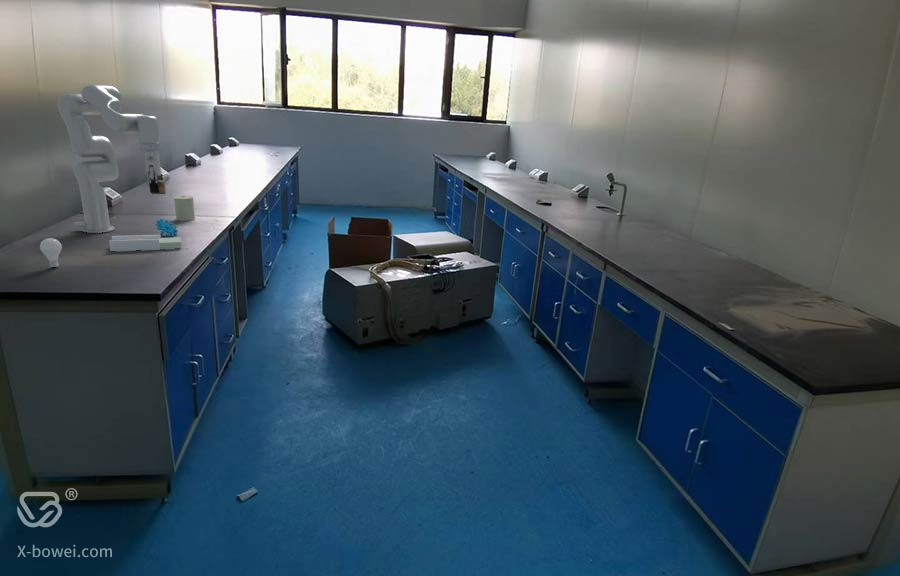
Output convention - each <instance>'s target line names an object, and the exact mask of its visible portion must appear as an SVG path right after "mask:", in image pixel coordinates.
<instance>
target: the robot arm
mask: <svg viewBox="0 0 900 576" xmlns="http://www.w3.org/2000/svg"><path fill="white" fill-rule="evenodd" d="M57 106H58V112H59V114H60V116H61V119H62V120H63V122H64V124H65V127H66V131H67V134H68V137H69V142H70V145H71V149H72V152H73V153H74V156H76V158H77V157H78V158H80V159H89V158H90V159H91V158H98V159H99V160H98V159H97V160H84V161H80V162H77V163H76V164H75V165H74V167H73V172H74V176H75V178H76V180H77V183H78V188H79V192H80V193H79V194H80V200H81V205H82V211H83V212H82V213H83V217H84V220H83V221H81V222H80V221H74V222H73V225H74V227H76V228H80V227H82V228H81V229H82V230H81V231H82V232H84V233H86V232H87V233H88V234H101V233H102V232H103V233H109V232H112V231H114V230H115V226H113V225H111V221H110V215H109V209H108V202H107V196H106V191H105V189H104V188H103V187H102V186H101V185H100V183H104V182H112V181H115V180H117V179H118V177H119V174H120V172H119V165H118V163H117V157H116V154H115V149H114V146H113V144H112V142H111V140H110V139H109V138H108V137H106V136H103V135H93V134H92V131H91V128H90V125H89V123H88V122H87V121H86V120H85V118H84V117H82V116H81V115H87V116H88V115H94V116H96V115H99V116H100V115H101V117H102V121H103V123H104V124H105V125H106V126H107V127H108V128H110V129H111V130H113V131H115V132H117V133H120V134H137V136H138V144H139V145H138V146H139V151H140V152H143V158H144V160H143V161H144V166H145V172H146V175H147V176H148V178H149V179H148V180H149V182H148V184H149V192H150V194H152V193H159V187H158V183H157V180H159V177H160V176H161V175H162V168H161V160H160V153H159V152H161V149H162V148H161V138H160V130H159V122H158V118H157V117H156V116H153V115H145V114H142V113H122V110H123V105H122V94H121V93H120V91H119V90H118V89H117V88H116V87H114V86H112V85H103V84H89V85H86V86H83V88H82V90H81V93H65V94H63V95H61V96H60V97H59V98H58V101H57Z"/></svg>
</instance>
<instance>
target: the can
mask: <svg viewBox="0 0 900 576" xmlns="http://www.w3.org/2000/svg"><path fill="white" fill-rule="evenodd" d="M173 201H174V208H175V220H176V221H178V220H182V221H181V222H186V221H185V220H192V221H195V220H196V216H195V215H196V214H195V207H194V206H195V204H194V197H193V196H191V195H178V196H174V197H173ZM194 219H195V220H194Z"/></svg>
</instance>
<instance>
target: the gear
mask: <svg viewBox="0 0 900 576" xmlns="http://www.w3.org/2000/svg"><path fill="white" fill-rule="evenodd" d="M168 222H169V220H167V219H165V220H164V219H163V218H160V219H157V220H156V223H155V226H156V227H157V228H156V229H157V230H158V231H160V233H159V235H161V236H163V235H164V234H165V233H166V234H165V236H166V237H170V238H174V237H175V235H176V236H177V235H178V232H179V231H178V229H177V228H178V227H179V226H178V225H177V224H176V225H173V224H174V223H173V222H169V223H168ZM173 236H174V237H173Z"/></svg>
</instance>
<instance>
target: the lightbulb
mask: <svg viewBox="0 0 900 576" xmlns="http://www.w3.org/2000/svg"><path fill="white" fill-rule="evenodd" d="M39 249H40V251H41V253H43V254H44V256H45V257H46V258H47V260H48V263H49V267H50V268H52V267H56V268H58V267H59V254H61V252H62V249H63V245H62V244H61V242H60V241H59V240H58V239H56V238H54V237H51V238H50V237H49V238H48V237H47V238H45V239H43V240H42V241H41V242H40V244H39Z"/></svg>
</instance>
